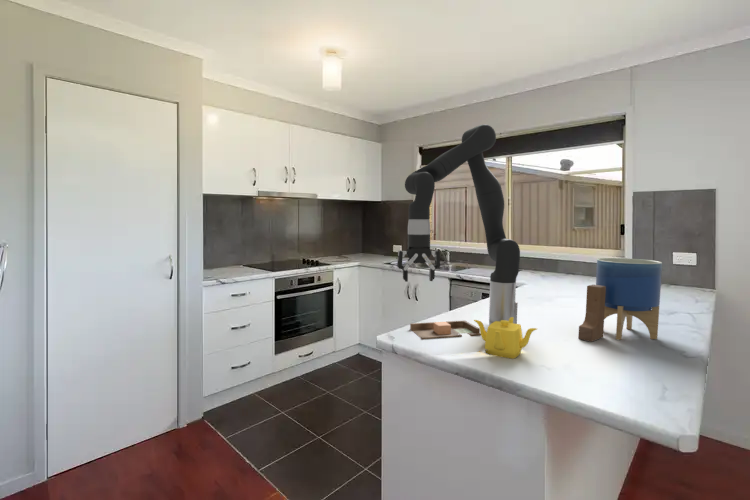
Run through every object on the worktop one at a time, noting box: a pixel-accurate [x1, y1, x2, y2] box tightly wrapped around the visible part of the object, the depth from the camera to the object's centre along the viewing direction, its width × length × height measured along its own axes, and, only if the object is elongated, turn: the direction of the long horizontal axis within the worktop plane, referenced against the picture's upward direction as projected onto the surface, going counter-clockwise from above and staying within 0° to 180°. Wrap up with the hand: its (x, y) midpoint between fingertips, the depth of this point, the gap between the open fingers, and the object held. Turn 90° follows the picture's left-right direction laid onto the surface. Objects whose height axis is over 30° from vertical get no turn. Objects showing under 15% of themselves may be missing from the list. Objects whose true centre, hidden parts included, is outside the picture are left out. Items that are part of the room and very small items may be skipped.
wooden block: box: [578, 284, 606, 343], centre depth 133 cm, size 9×4×18 cm, turn 127°
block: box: [433, 321, 451, 335], centre depth 134 cm, size 4×4×3 cm
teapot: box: [473, 317, 538, 360], centre depth 119 cm, size 15×14×10 cm
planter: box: [595, 257, 663, 341], centre depth 138 cm, size 19×19×26 cm
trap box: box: [409, 319, 481, 340], centre depth 134 cm, size 21×12×4 cm, turn 103°
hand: (418, 281), depth 131 cm, fingers open, 8 cm apart
